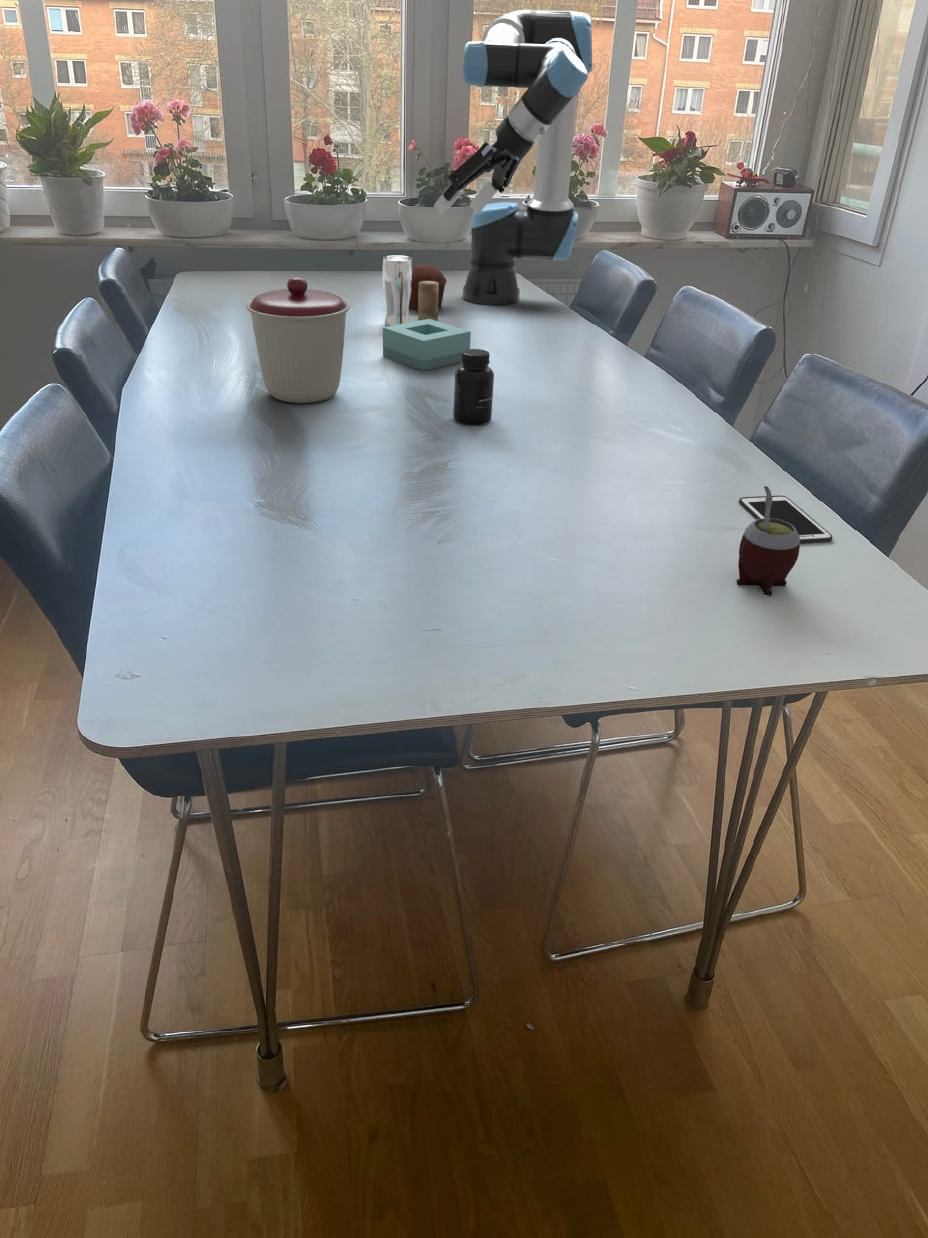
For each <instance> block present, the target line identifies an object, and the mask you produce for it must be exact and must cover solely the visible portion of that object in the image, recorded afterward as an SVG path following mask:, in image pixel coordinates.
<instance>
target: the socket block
mask: <svg viewBox="0 0 928 1238" xmlns="http://www.w3.org/2000/svg"><path fill="white" fill-rule="evenodd" d="M471 333H472V332H471V330H467V329H465V328H461V327H458V326H454V325H452V324H448V323H444V322H441V321H439V320H438V321H435V320H432V319H425V320H420V321H418V320H415V321H410V322H409V323H404V324H398V325H393V326H382V356H383V357H384V358H387V359H390V360H392V359H393V361H395V360H396V361H395V362H398V363H401V364H404V365H407V366H408V367H409V366H410V367H412V368H415V369H417V370H420V371H423V372H424V371H427V370H432V369H433V370H434V369H437V368H442V367H446V366H449V365H450V366H451V365H454V363H455V364H458V362H459V363H461V358H462V351H463V350H466V349H471ZM445 365H446V366H445ZM441 366H442V367H441Z"/></svg>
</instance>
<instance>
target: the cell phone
mask: <svg viewBox="0 0 928 1238" xmlns="http://www.w3.org/2000/svg"><path fill="white" fill-rule="evenodd" d="M771 496H772V505H771V509H770V518H773V519H779V520H782V521H785V522H788V523H789V524H791V525H793V526H794V527H795V529H796V530H797V532H798V534H799V537H800V545H805V544H821V543H830V542H832V541H833V538H834V537H833V535H832V534H831V533H830V532H829V531H828V530H827V529H826V528H824V527H823V526H821V524H820V523H819V522H817V521H816V520H815V519H814V518H813V517H811V516H810V515H809V514H808V513H807V512H805V511H804V510H803V509H802V508H801V507H800V506H798V505H797V504H796V503H795V502H794V501H793V500H791V499H790V498H789V497H788V496H786V495H771ZM766 497H767V495H761V496H760V495H759V496H744V497H740V498H739V500H738V503H739V505H740V506H741V507H743V509H744V510H746V511H747V512H748V514H750V515H751V516H752V517H753V518H754V519H755V520H757V519H762V518H765V511H766V504H765V501H766Z"/></svg>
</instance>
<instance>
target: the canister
mask: <svg viewBox="0 0 928 1238" xmlns="http://www.w3.org/2000/svg"><path fill="white" fill-rule="evenodd" d="M245 307H246V310H247V312H249V313H250V316H251V321H252V322H251V323H252V328H253V333H254V338H255V343H256V349H257V355H258V360H259V365H260V369H261V370H260V371H261V375H262V380H263V383H264V387H265V388H266V390H267V392H268V393H269V395H271V396H272V397H273V398H275V399H276V400H279V401H282V402H284V403H285V402H287V403H292V404H293V403H294V404H312V403H319V402H323V401H325V400H329V399H330V398H332V397H334V395H335V394H336V393H337V391H338V389H339V388H340V383H341V377H342V376H341V375H342V369H343V367H342V366H343V357H344V345H345V344H344V343H345V332H346V331H345V330H346V316H347V312H348V311H349V310H350V304H349V302H348V301H346V300H345V299H343V298H342V297H341V296H339V295H337V294H334V293H333V292H328V291H324V290H319V289H312V288H311V289H310V288H308V282H307V280H306V279H305V278H303V277H300V276H299V277H298V276H294V277H290V278H289V279H288V281H287V282H286V288H285V289H275V290H269V291H266V292H263V293H260V294H258V295H256V296H254V298H253V299H251V300H249V301H248V302H246V304H245Z"/></svg>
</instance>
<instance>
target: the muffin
mask: <svg viewBox="0 0 928 1238" xmlns="http://www.w3.org/2000/svg"><path fill="white" fill-rule="evenodd" d="M412 269H413V284H412V291H411V297H410V303H409V310H412V311H416V310H417V312H418V292H419V282H421V281H434V282H438V283H439V287H438V310H441V309H442V303H443V298H444V293H445V287H446V285H447V281H448V280H447V278H446V277H445V276H444V274H443V273H442V271H441V270H440V269H438V268H437V267H435V266H434V265H430V264H425V263H424V264H423V263H421V264H415V265H414V266H413V265H412Z"/></svg>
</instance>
